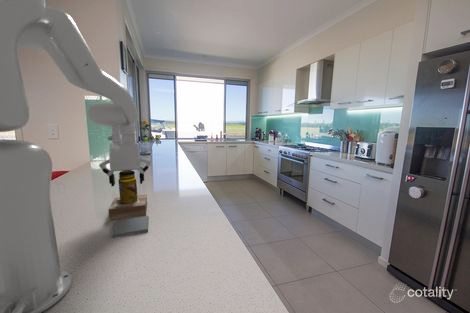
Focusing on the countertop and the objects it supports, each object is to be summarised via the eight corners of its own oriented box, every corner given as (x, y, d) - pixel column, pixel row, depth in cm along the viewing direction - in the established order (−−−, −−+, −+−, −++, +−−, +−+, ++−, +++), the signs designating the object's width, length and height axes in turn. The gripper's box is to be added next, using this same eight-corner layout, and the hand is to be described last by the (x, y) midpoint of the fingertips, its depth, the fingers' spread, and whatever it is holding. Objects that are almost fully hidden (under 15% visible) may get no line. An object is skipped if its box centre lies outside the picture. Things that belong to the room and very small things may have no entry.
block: (146, 215, 79) (145, 205, 78) (109, 220, 74) (108, 209, 74) (147, 203, 90) (146, 194, 89) (115, 207, 86) (114, 197, 85)
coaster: (147, 231, 67) (147, 228, 67) (112, 237, 64) (112, 234, 63) (148, 218, 76) (148, 215, 76) (117, 222, 73) (117, 220, 73)
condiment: (140, 202, 80) (138, 172, 78) (114, 207, 76) (111, 175, 73) (137, 197, 86) (134, 168, 84) (113, 201, 82) (110, 171, 79)
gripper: (94, 140, 71) (98, 189, 74) (149, 139, 77) (151, 184, 80) (99, 139, 78) (103, 183, 80) (149, 138, 84) (152, 179, 87)
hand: (127, 184), depth 80 cm, fingers open, 9 cm apart
